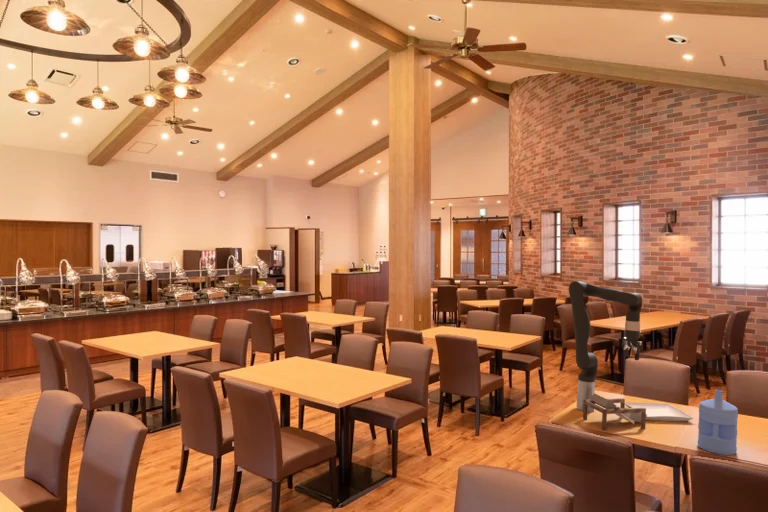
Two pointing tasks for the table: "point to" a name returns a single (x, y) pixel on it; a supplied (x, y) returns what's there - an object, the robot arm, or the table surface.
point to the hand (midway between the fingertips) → (631, 358)
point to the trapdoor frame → (613, 410)
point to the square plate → (661, 411)
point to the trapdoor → (608, 405)
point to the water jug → (717, 426)
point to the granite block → (634, 416)
